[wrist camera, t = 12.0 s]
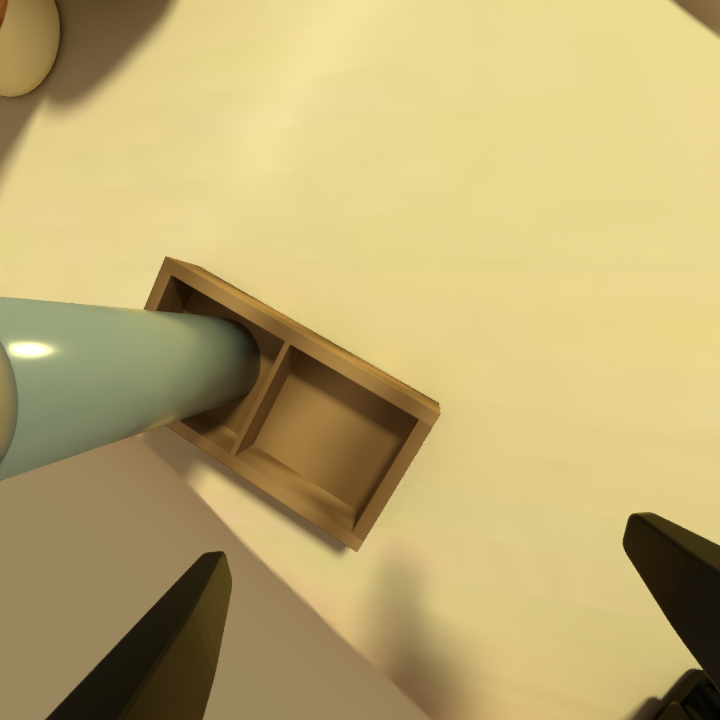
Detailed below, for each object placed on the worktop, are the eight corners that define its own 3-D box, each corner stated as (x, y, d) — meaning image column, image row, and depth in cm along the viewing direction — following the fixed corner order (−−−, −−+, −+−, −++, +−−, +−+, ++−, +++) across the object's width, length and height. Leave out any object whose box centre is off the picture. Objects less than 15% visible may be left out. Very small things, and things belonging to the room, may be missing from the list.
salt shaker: (260, 316, 19) (-78, 278, 6) (261, 405, 19) (-56, 536, 7) (181, 317, 20) (-248, 284, 7) (184, 401, 20) (-222, 510, 8)
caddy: (438, 402, 18) (440, 414, 15) (366, 523, 19) (357, 552, 17) (198, 266, 20) (165, 256, 18) (148, 382, 22) (110, 389, 19)
